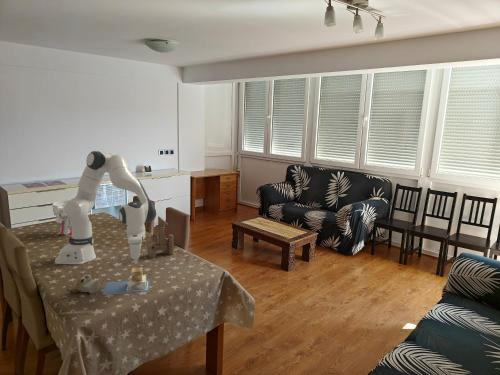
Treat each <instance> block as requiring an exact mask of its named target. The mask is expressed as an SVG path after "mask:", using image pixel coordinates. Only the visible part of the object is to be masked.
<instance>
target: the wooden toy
mask: <svg viewBox="0 0 500 375" xmlns="http://www.w3.org/2000/svg"><path fill="white" fill-rule="evenodd" d="M165 226H169V223H168V222H166V221H165V220H164V219H163V218H162V217H160V216H159V215H158V216H157V224H155V225H154V227H153V229H152V235H150V244H149V245H147V246H146V251H147V254H146V255H147V257H149V258H150V259H154V258H157V252H158V251H162V253H163V254H165V255H167V254H168V255H170V256H171V255H174V234H168V238H167V237H166V235H165Z"/></svg>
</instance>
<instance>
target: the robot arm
mask: <svg viewBox="0 0 500 375" xmlns="http://www.w3.org/2000/svg"><path fill="white" fill-rule="evenodd" d="M106 173H108V175H109V178H110V182H111V184H112V185H113V186H114V187H116V188H117V189H120V190H123V191H129V192H132V193H134V194H135V195H136V196H137V199H138V200H139V201H136V200H135V201H134V200H133V201H130V202H128V203H127V204H126V205H124V206H122V207H120V208H119V210H118V220H119V222H120V223H122V224H124V225H127V226H126V239H127V244H129V254H130V258H131V260H133V263H134V265H137V264H139V258H140V256H141V255H140V253H141V248H142V243H143V240H144V239H145V238H146V226H145V223H151V222H153V221H154V219H156V217H157V211H156V210H157V209H156V207H155V205H154V204H153V202H152V201H151V198H149V195H148V193H147V191H146V190H145V187H144V186H143V184H142V182H141V181H140V179H138V178H136V177H135V175H133V174H132V172H131V168H130V166H129V164H128V162H127V159H126V158H125V156H123V154H112V153H108V152H103V151H101V152H100V151H98V150H94V151H90V152H89V154H88V155H87V156H86V166H85V168H84V170H83V171H82V174H81V177H80V178H79V179H80V180H79V181H78V184H77V188H78V190H77V194H76V196H75V197H73V198H71V199H69V200H70V201H68V203H67V204H66V205H65V208H64V211H65V213H66V215H67V216H68V217H69V219H70V222H71V228H72V235H71V234H70V235H69V238H68V239H67V242H68V243H67V244H65V246H63V247H62V248H61V249H60V251H59V253H58V256H57V257H55V259H54V264H56V265H83V264H84V263H88V262H91V261H94V260H95V259H96V258H97V255H96V253H95V248H94V242H95V241H94V235H93V227H92V225H93V224H92V222H91V221H90V218H89V212H90V211H92V209H93V208H94V207H95V205H96V198H97V194H98V191H99V188H100V186H101V183H102V180H103V179H104V175H105V174H106Z"/></svg>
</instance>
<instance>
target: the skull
mask: <svg viewBox="0 0 500 375" xmlns="http://www.w3.org/2000/svg"><path fill="white" fill-rule="evenodd" d="M70 200H71V199H65V200H58V201H54V202H52V211H53V216H55V217H56V218H55V219H56V220H55V221H56V223H57V224H59V226H60V231H59V232H57V234H56V235H57V236H58V235H61V237H63V236H64V235H65V236H66V235H67V236H68V235H69V234H70V236H71V235H72V228H71V222H70V219H69V217H68V216H67V215H66V213H65V211H64V208H65V205H66V204H67V203H68V201H70Z"/></svg>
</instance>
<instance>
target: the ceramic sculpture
mask: <svg viewBox="0 0 500 375" xmlns="http://www.w3.org/2000/svg"><path fill="white" fill-rule="evenodd" d="M99 289H100V280H99V279H96V280H95V279H93V278H92V277H91V276H89V275H85V276H83V277H80V279H78V280H77V282H76V286H73V287H71V288H68V289H66V291H68V292H69V293H72V294H74V293H75V294H77V293H89V294H91V295H93V294H95V293H96V292H98V291H99Z"/></svg>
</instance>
